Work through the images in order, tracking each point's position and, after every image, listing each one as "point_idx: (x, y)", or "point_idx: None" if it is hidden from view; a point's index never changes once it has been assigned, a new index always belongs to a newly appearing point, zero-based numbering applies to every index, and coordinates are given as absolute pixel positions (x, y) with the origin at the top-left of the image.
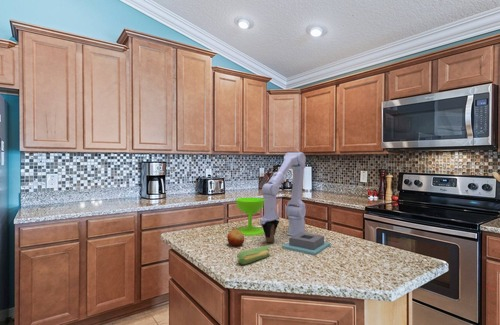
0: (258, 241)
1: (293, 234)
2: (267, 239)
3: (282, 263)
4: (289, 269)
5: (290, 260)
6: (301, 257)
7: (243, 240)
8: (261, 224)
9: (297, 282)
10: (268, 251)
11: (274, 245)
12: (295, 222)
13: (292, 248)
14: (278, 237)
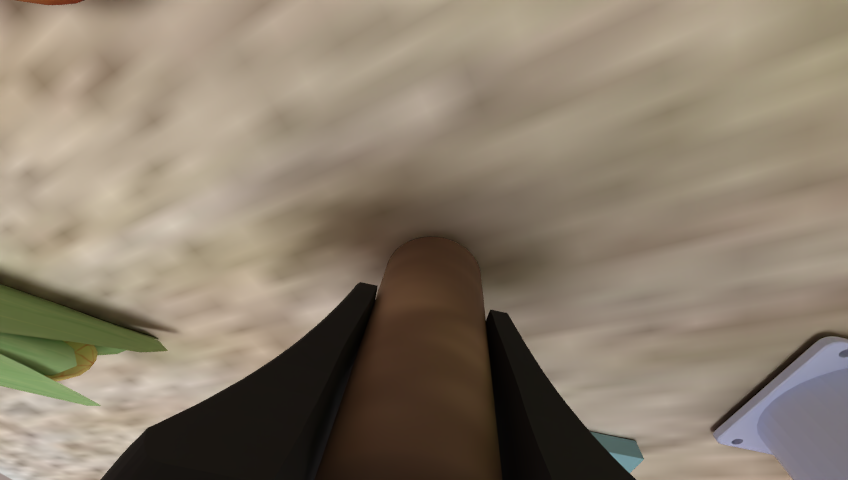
0: (422, 129)
1: (769, 412)
2: (382, 281)
3: (101, 417)
4: (73, 445)
5: None
6: None
7: (36, 1)
8: (149, 442)
9: (10, 471)
10: (85, 371)
11: None
12: None
13: None
14: (680, 291)
